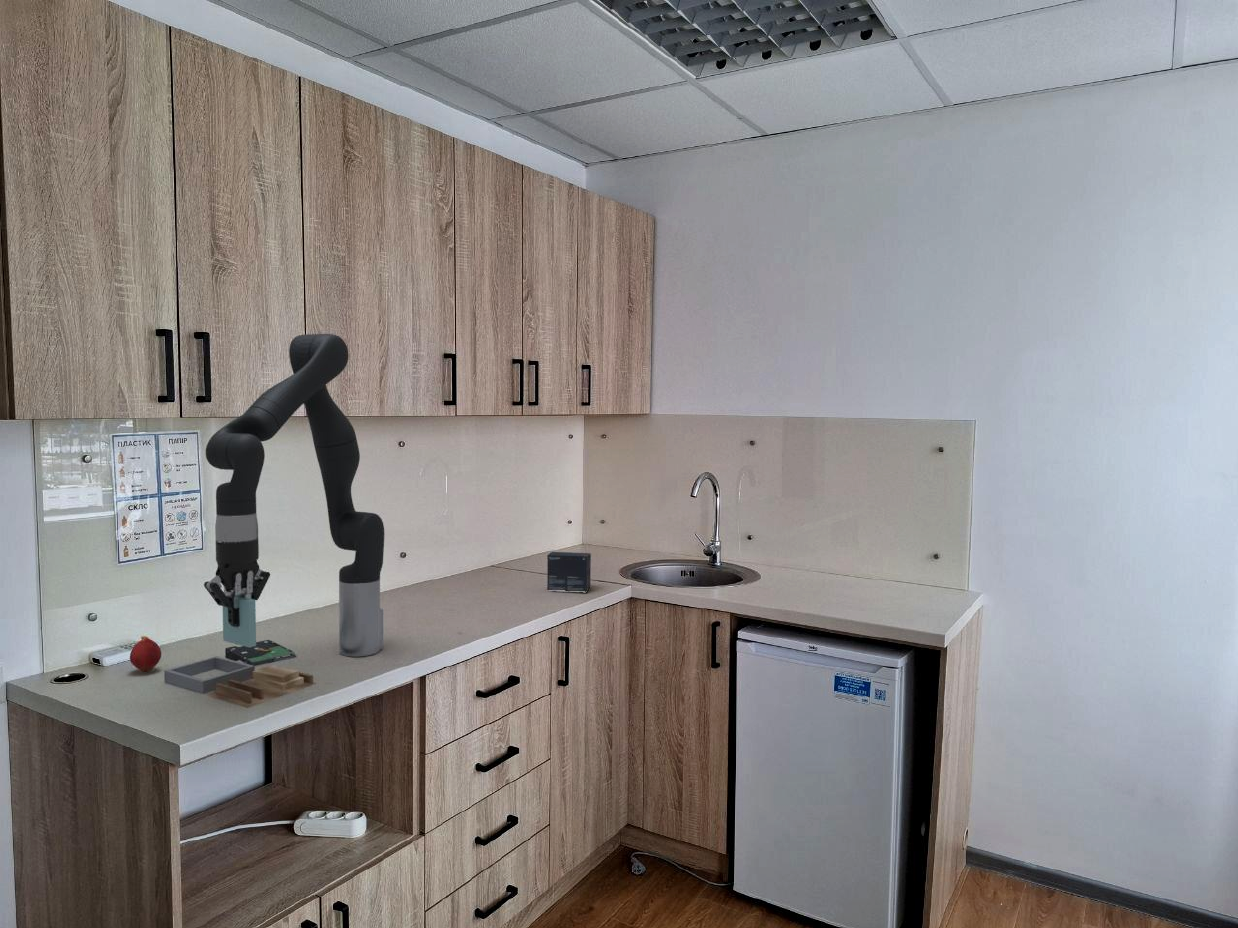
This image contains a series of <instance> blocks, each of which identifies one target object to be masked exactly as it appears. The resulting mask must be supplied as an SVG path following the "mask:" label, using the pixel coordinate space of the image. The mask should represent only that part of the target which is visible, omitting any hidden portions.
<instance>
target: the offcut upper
mask: <svg viewBox="0 0 1238 928" xmlns="http://www.w3.org/2000/svg"><path fill="white" fill-rule="evenodd" d="M299 672H300V670H297V669H292V668H286V667H281V666H278V667H276V666H275V665H266V666H264V667H261V668H259V669H255V671H253V677H254V678H259V679H264V680H269V681H274V682H279V683H284V682H287V681H290V680H292V679H295V678H297V677H299ZM254 678H253V679H254Z"/></svg>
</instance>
